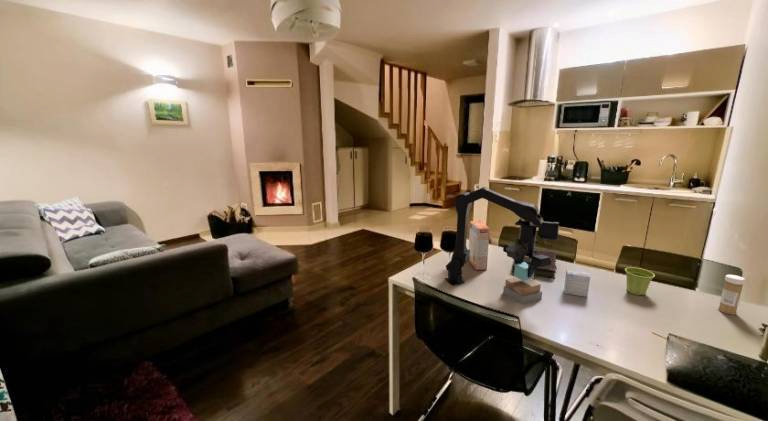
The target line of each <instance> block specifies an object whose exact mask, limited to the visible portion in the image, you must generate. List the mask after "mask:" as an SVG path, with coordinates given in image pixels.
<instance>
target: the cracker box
mask: <svg viewBox="0 0 768 421" xmlns="http://www.w3.org/2000/svg"><path fill="white" fill-rule="evenodd" d="M490 230H491V229H490V227H489V226H488V225H486V224H485V223H484V222H483V221H481V220H470V221H469V238H468V241H469V242H468V250H470V254H469V255H470V259H469V260H468V261H469V263H470V265H471V266H472V267H473V269H474V271H475V270H476V271H480V270H481V271H487V270H488V269H487V268H488V257H489V242H490Z"/></svg>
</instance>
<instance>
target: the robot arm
mask: <svg viewBox="0 0 768 421" xmlns="http://www.w3.org/2000/svg"><path fill="white" fill-rule="evenodd" d="M480 199H484V200H486V201H488V202H491V203H493V204H495V205H498V206H499V207H502V208H504V209H507V210H508V211H511V212H513V213H514V214H515V215H516V216H517V217H518V220H516V221H515V223H514V225H515V226H519V236H518V238H516V240H515V242H512V243H506V244H504V245H503V248H502V251H503V252H504V253H505V254H506V256H507V257H508V258H511V259H513V263H514V262H515V264H518V263H523V260H524V256H525V257H528V258H530V259H531V260H530V262H526V263H527V265H528V278H530V277H531V276H532V275H533V273H534V272H535V270H536V269H537V268H538V267H543V266H548V265H551V259H550V257H547V256H545V255H537V256H536V255H534V253H537V250H538V249H537V250H535V249H536V244H538V242H539V239H537V238H536V237H538V238H540V240H548V241H555V242H558V240H559V226H560V222H558V221H546V220H545V221H544V218H543V216H541V214H540V213H539V207H538V206H537V205H536V204H534V203H530V202H527V201H521V200H516V199H514V198H511V197H509V196H507V195H504V194H502V193H499V192H497V191H494V190H492V189H490V188H489V187H486V186H482V187H480V188H478V189H476V190H473V191H470V192H468V191H464V192H462V193H459V194H458V195H456V196H455V198H454V205H455V211H456V215H457V218H456V219H457V220H456V235H455V247H454V250H453V252H452V255H451V260H450V261H449V262H448V263H447V264H446V265H445V269H446V271H447V277H445V278H444V280H445V281H446V282H448V283H449V284H450V285H452V286H455V285H459V284H465V280H463V269H462V268H463V267H465V265H466V264H467V262H468V261H469V259H470V255H469V254H470V250H469V249H468V248H467V234H468V224H469V213H470V211H471V208H472V205H473V202H476V201H479V200H480ZM537 228H538V230H537Z"/></svg>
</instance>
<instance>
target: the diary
mask: <svg viewBox="0 0 768 421" xmlns="http://www.w3.org/2000/svg"><path fill="white" fill-rule="evenodd" d="M535 250H537V253H534V255H536V256H537V255H545V256H547V257H550V259H551V265H548V266H543V267H538V268H537V269H536V270H535V272H534V276H535V277H539V278H543V279H549V280H550V279H551V280H555V279H556V271H557V266H556V264H557V263H556V262H557V260H556V258H557V257H556V255H557V254H556V251H551V250H545V249H544V250H543V249H537V248H535ZM530 260H531V259H530V258H528V257H525V256H524V260H523V262H530ZM511 266H512V267H511V270H512V273H514V270H515V262H514V261H513V264H512V265H511Z"/></svg>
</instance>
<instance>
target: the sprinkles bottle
mask: <svg viewBox="0 0 768 421" xmlns="http://www.w3.org/2000/svg"><path fill="white" fill-rule="evenodd" d="M745 282H746V278H744V277H742V276H740V275H736V274H726V275H725V278H724V285H723V288H722V291H721V292H722V293H721V296H720V300H719V301H720V302H719V306H718V308H717V309H718V310H719V311H720V312H722V313H724V314H728V315H734V316H735V315H736V314H738V313H737V309H738V307H739V303H740V300H741V294H742V291H743V286H744V284H745Z"/></svg>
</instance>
